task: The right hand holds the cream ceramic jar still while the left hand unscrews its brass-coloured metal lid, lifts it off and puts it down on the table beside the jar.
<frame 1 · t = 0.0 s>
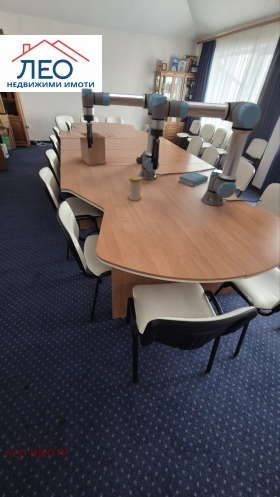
left hand: (90, 146, 173), 28 cm above the table, tool pointing down, fingers open, 13 cm apart
right hand: (153, 166, 140), 28 cm above the table, tool pointing down, fingers open, 13 cm apart
box: (93, 161, 237), on the table
book: (192, 182, 203), on the table
laser sight: (146, 164, 241), on the table
jar: (134, 198, 166), on the table
lid: (135, 177, 157), point 15 cm above the table, screwed on, not yet turned
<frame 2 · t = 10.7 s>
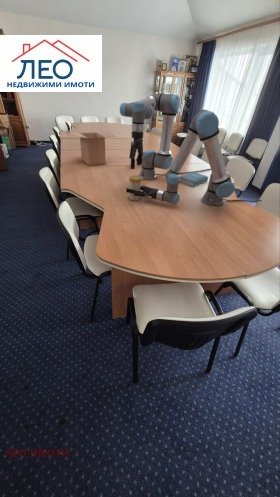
left hand: (135, 166, 153), 23 cm above the table, tool pointing down, fingers open, 10 cm apart
right hand: (129, 188, 164), 7 cm above the table, tool horizontal, fingers closed on jar, 8 cm apart
jar: (134, 198, 166), on the table, touching right hand
everything else where it was.
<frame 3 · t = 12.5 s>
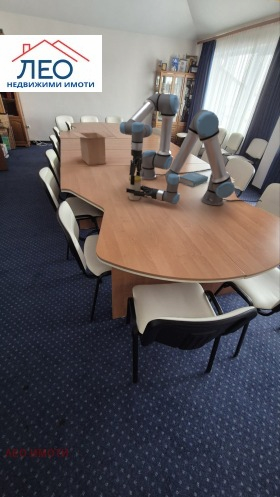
left hand: (135, 182, 159), 12 cm above the table, tool pointing down, fingers closed on lid, 9 cm apart
right hand: (129, 188, 164), 7 cm above the table, tool horizontal, fingers closed on jar, 8 cm apart
jar: (134, 198, 166), on the table, touching right hand
lid: (135, 177, 157), point 15 cm above the table, screwed on, not yet turned, touching left hand
everything else where it was.
when the left hand's fingers open (12 cm above the table, at t = 14.0 s): lid stays where it is, point 16 cm above the table.
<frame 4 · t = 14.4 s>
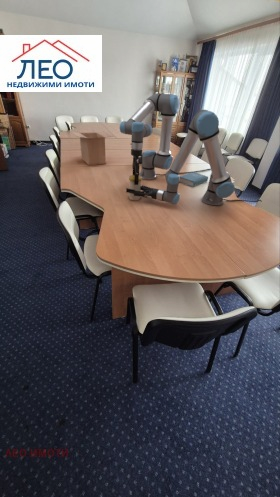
left hand: (135, 181, 159), 13 cm above the table, tool pointing down, fingers open, 10 cm apart
right hand: (129, 188, 164), 7 cm above the table, tool horizontal, fingers closed on jar, 8 cm apart
jar: (134, 198, 166), on the table, touching right hand
lid: (135, 177, 157), point 16 cm above the table, turned 75° so far, risen 0.3 cm, still on its thread
everything else where it was.
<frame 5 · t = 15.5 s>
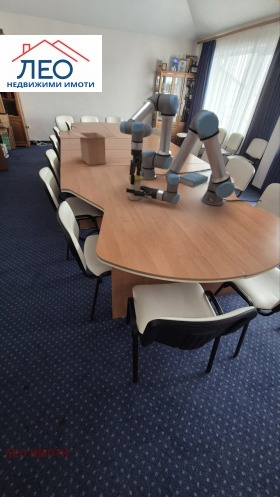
left hand: (135, 182, 159), 12 cm above the table, tool pointing down, fingers closed on lid, 9 cm apart
right hand: (129, 188, 164), 7 cm above the table, tool horizontal, fingers closed on jar, 8 cm apart
jar: (134, 198, 166), on the table, touching right hand
lid: (135, 177, 157), point 16 cm above the table, turned 75° so far, risen 0.3 cm, still on its thread, touching left hand
everything else where it was.
when the left hand's fingers open (0 cm above the table, at t = 21.5 s): lid drops 2 cm, point 2 cm above the table.
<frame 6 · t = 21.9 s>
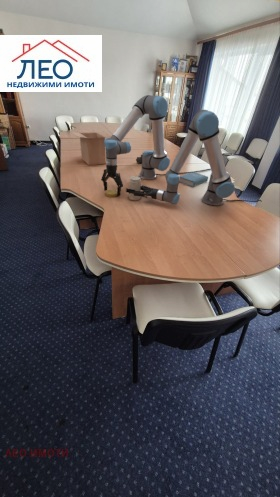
left hand: (112, 192, 169), 1 cm above the table, tool pointing down, fingers open, 13 cm apart
right hand: (129, 188, 164), 7 cm above the table, tool horizontal, fingers closed on jar, 8 cm apart
jar: (134, 198, 166), on the table, touching right hand
lid: (111, 192, 168), point 2 cm above the table, off its thread
everything else where it was.
when the right hand's fingers open (7 cm above the table, at t = 22.5 s): jar stays where it is, on the table.
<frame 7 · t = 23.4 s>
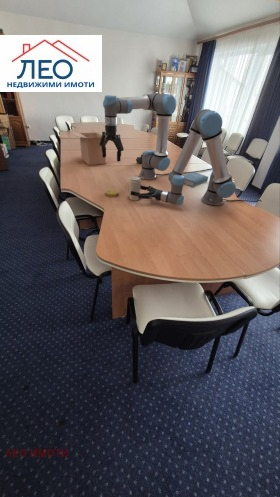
left hand: (111, 159, 154), 26 cm above the table, tool pointing down, fingers open, 13 cm apart
right hand: (134, 189, 162), 7 cm above the table, tool horizontal, fingers open, 13 cm apart
jar: (134, 198, 166), on the table
everything else where it was.
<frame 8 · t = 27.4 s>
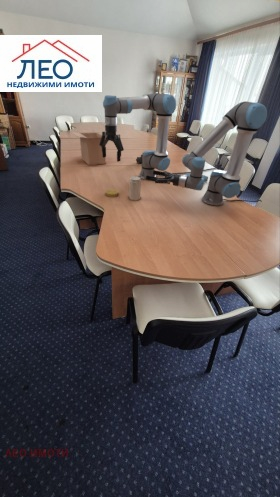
left hand: (111, 159, 154), 26 cm above the table, tool pointing down, fingers open, 13 cm apart
right hand: (149, 174, 152), 20 cm above the table, tool horizontal, fingers open, 13 cm apart
nothing on the table moved.
at the end: lid came off its thread; lid point 1.7 cm above the table; the left hand is holding nothing; the right hand is holding nothing; jar tilted 0°; jar moved 0.0 cm from its start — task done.
